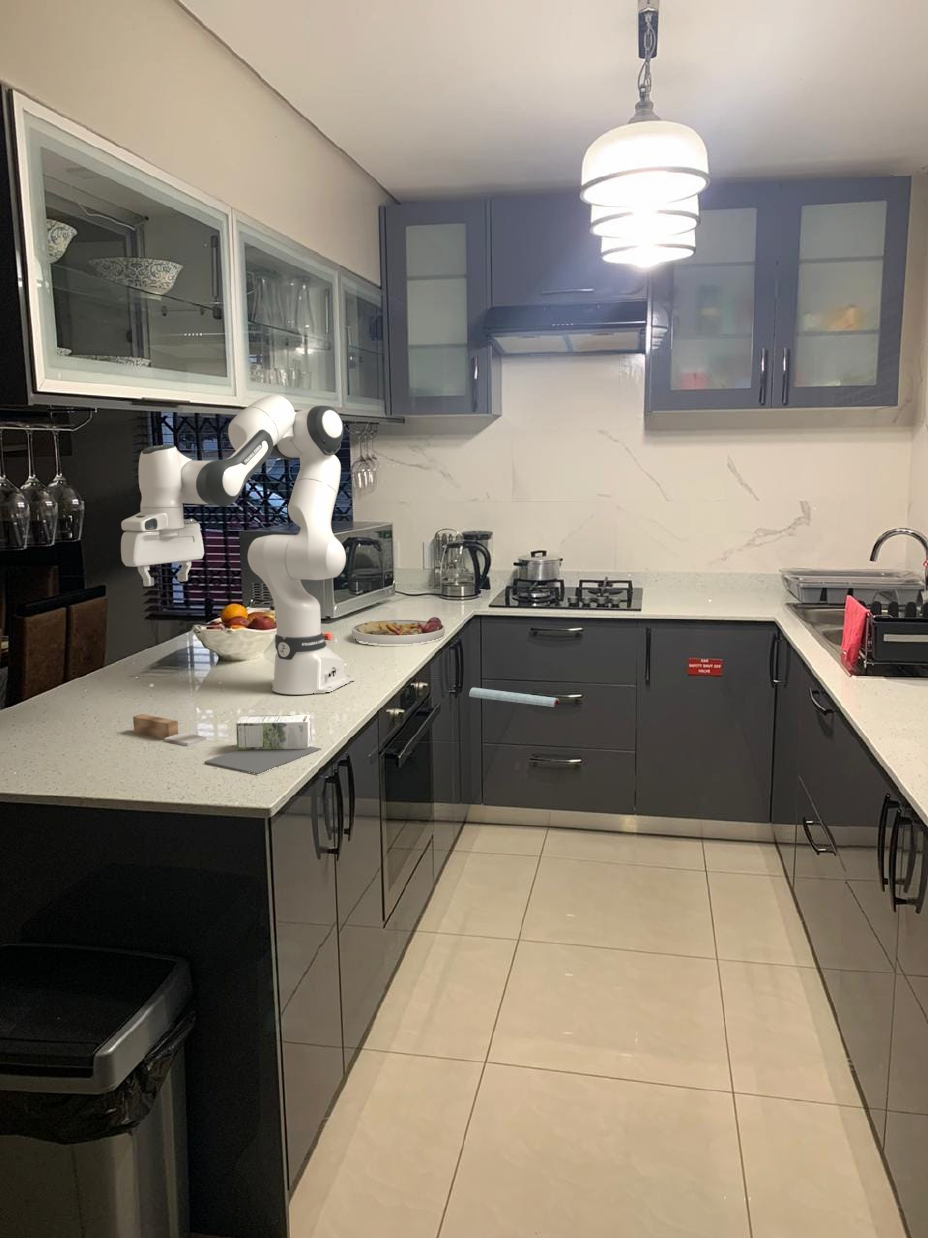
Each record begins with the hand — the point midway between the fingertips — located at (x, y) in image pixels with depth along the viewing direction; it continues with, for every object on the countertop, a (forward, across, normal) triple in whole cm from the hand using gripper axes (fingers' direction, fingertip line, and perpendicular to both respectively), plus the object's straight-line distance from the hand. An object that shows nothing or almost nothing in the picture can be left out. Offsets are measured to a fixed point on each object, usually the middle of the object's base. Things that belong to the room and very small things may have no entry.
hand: (166, 583), depth 210 cm
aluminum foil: (+32, -50, +59) cm, 84 cm away
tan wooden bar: (+31, +10, +10) cm, 34 cm away
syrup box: (+28, +8, +28) cm, 41 cm away
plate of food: (+32, -104, -12) cm, 109 cm away
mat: (+31, +10, +37) cm, 49 cm away
